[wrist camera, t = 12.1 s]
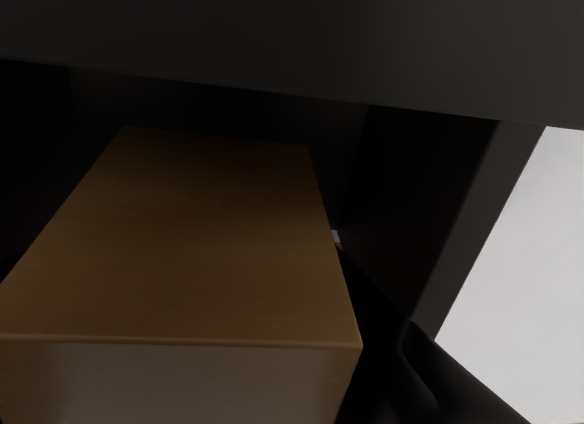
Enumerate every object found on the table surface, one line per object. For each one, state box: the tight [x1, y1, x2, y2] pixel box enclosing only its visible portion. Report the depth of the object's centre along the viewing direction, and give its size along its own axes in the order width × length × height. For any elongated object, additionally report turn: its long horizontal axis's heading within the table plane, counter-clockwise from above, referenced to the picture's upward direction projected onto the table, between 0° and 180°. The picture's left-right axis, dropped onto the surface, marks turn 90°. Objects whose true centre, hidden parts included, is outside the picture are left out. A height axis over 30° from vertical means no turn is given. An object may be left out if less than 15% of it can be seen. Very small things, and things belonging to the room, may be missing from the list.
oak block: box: [0, 126, 363, 424], centre depth 7 cm, size 4×4×6 cm
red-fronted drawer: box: [0, 59, 546, 340], centre depth 10 cm, size 18×11×7 cm, turn 171°
